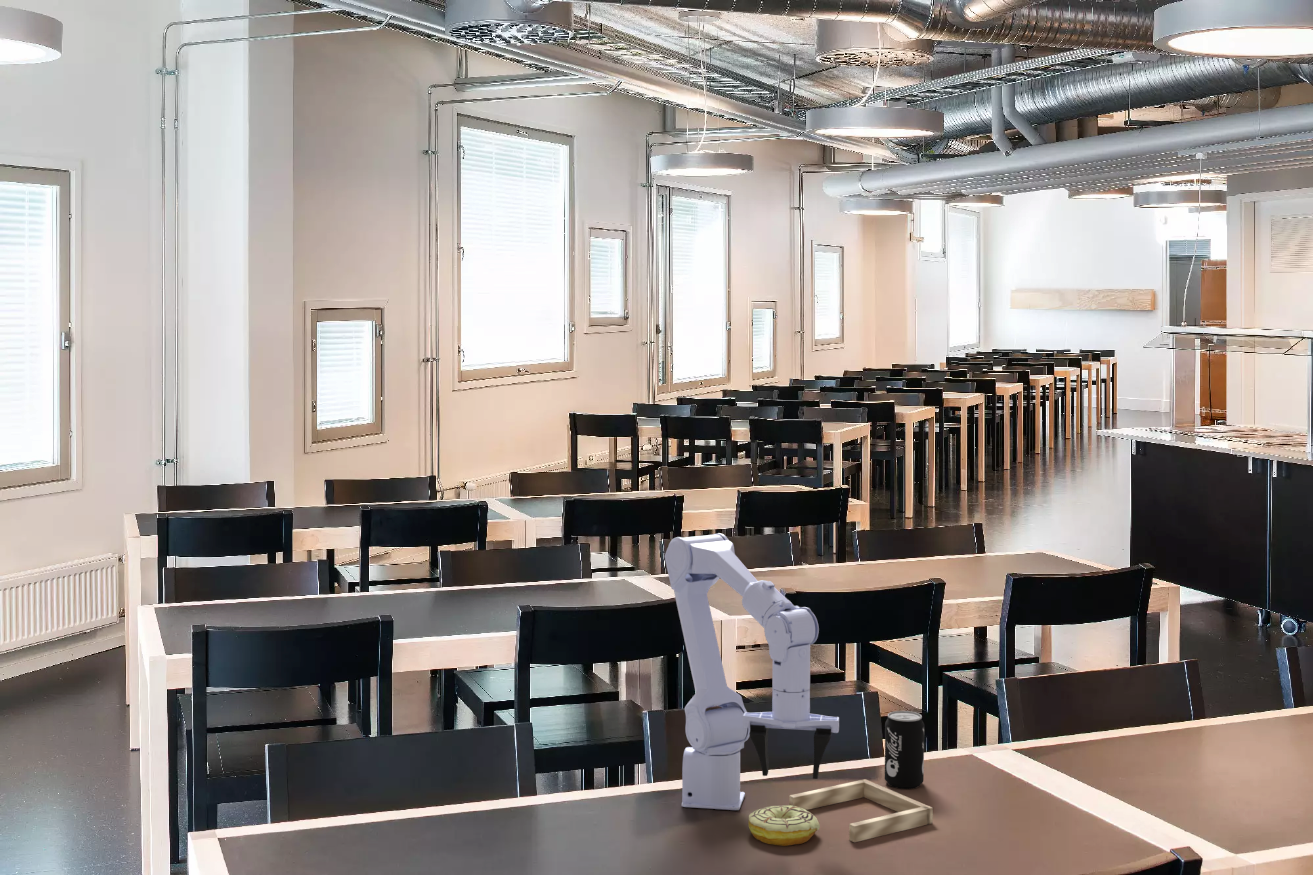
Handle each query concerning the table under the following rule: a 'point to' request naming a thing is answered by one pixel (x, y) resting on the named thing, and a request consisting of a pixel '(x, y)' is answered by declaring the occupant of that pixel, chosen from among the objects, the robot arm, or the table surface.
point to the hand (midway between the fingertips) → (790, 775)
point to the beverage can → (904, 749)
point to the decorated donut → (783, 825)
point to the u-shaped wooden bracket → (907, 808)
